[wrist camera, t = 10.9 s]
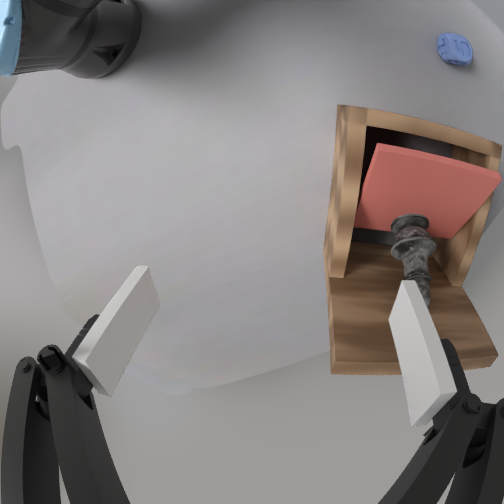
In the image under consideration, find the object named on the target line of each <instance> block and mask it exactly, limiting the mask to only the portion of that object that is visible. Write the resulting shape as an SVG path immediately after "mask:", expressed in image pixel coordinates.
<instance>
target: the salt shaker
mask: <svg viewBox="0 0 504 504" xmlns="http://www.w3.org/2000/svg"><path fill="white" fill-rule="evenodd" d="M428 227H429V220H428V218H427V217H425V216H424V215H421V214H415V213H413V214H405V215H402V216H399V217H397V218H396V219H394V220H393V221H392V223H391V227H390V228H391V231H392V232H393V233H394V234H395V235H396V236H395V238H394V241H393V247H392V249H391V254H392V256H393V257H394V258H395V259H397V260H400V261H402V262H403V265H404V276H405V277H404V279H403V280H414V281H415V282H416V284H417V286H418V288H419V290H420V293H421V295H422V297H423V299H424V302H425V304H426V306H427V309H428V308H429V306H430V304H431V298H430V287H429V282H430V281H431V279H432V276H431V275H430V274H429V272H428V264H427V260H428V257H429V256H430V255H432V254H433V252H434V251H435V249H436V244H435V242H434V241H433V240H432V237H431V236H430V234H429V233H428V231H426V230H427V228H428Z"/></svg>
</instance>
